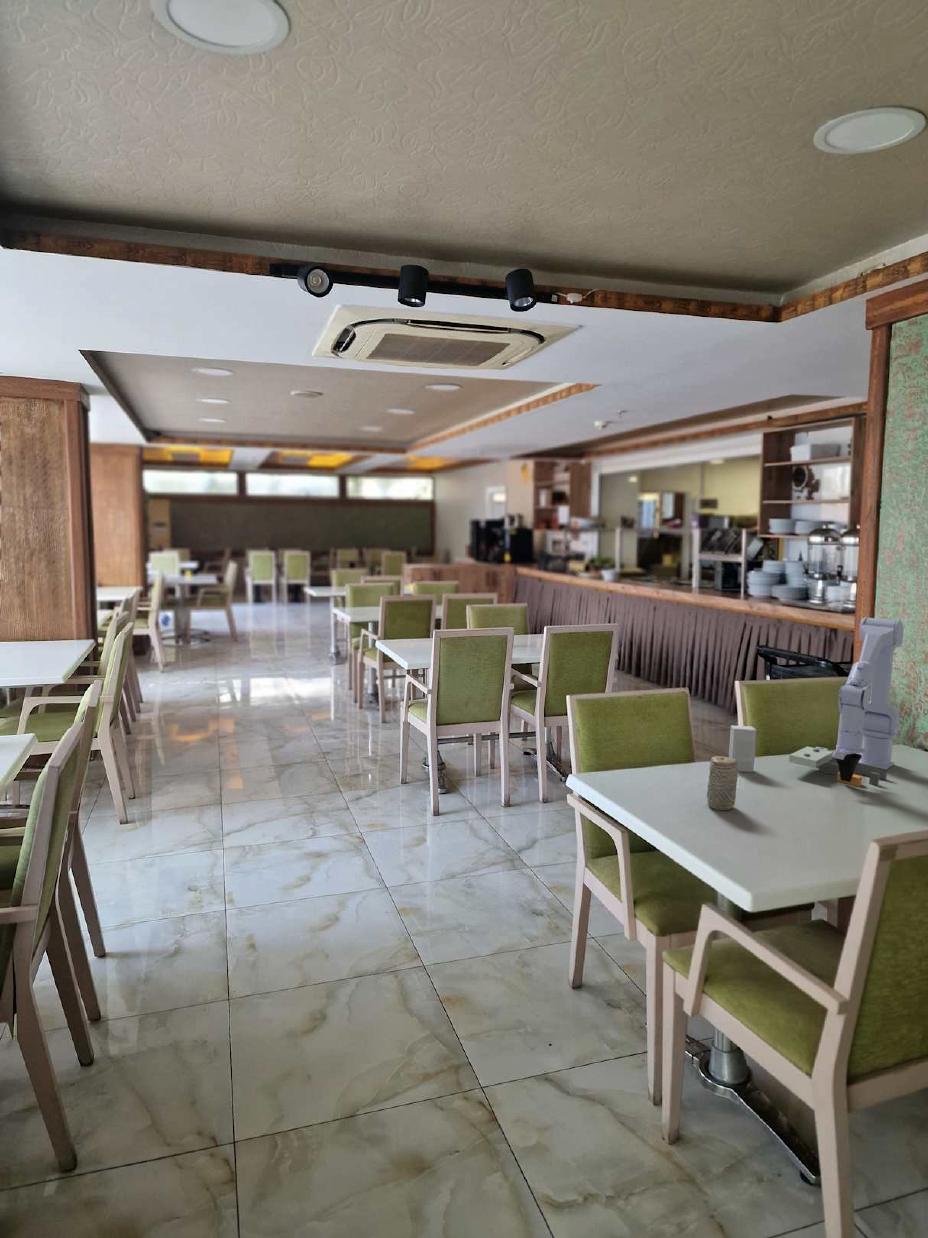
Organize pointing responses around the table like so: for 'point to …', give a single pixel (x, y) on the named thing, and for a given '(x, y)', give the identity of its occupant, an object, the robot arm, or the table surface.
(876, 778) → the long grey beam
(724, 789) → the carving
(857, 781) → the orange cuboid brick
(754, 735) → the skincare box
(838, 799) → the table surface
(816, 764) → the cover
